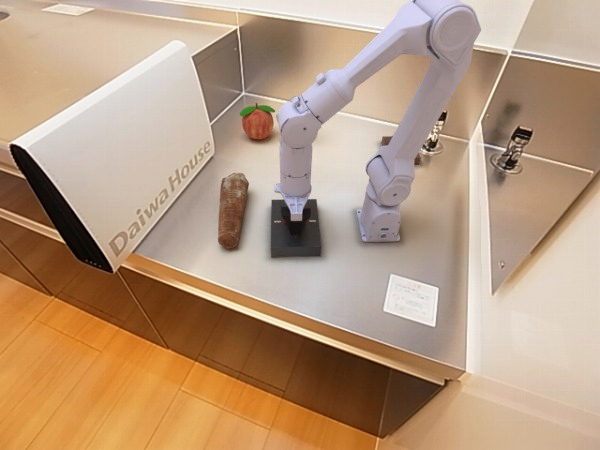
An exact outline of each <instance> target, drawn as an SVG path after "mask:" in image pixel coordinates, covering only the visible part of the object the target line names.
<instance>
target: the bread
mask: <svg viewBox="0 0 600 450" xmlns="http://www.w3.org/2000/svg"><path fill="white" fill-rule="evenodd" d="M245 175H246V174H244V173H243V172H233V173H231V174H228V176H227V177H223V178H222V179H221V183H220V188H219V189H220V190H219V191H220V192H219V208H218V228H217V229H218V232H217V233H218V234H217V235H218V236H217V237H218V238H217V242H218V244H219V245H220V246H221V247H222V248H224V249H232V248H235V247H237V245H239V239H240V233H241V229H242V223H243V218H244V212H245V208H246V207H245V205H246V201H247V197H248V192H249V186H250V183H249V181H248V179H247V178H246V176H245Z"/></svg>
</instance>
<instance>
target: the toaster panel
mask: <svg viewBox="0 0 600 450" xmlns="http://www.w3.org/2000/svg"><path fill="white" fill-rule="evenodd" d="M270 204H271V206H270V208H271V209H270V258H304V257H305V258H308V257H309V258H311V257H312V258H313V257H314V258H315V257H322V248H323V247H322V238H321V237H322V236H321V229H320V220H319V208H318V199H317V198H308V200H307V202H306V204H305V206H304V207H306V208H311V216H310V218H309V219H308V220H307V221H306V224H304V226H303V229H302V232H301V234H290V231H289V228H288V225H287V224H284V219H283V218H282V216H281V207H288V206H287V204H286V202H285V201H284V199H283V198H281V199H280V198H279V199H271V203H270Z"/></svg>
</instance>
